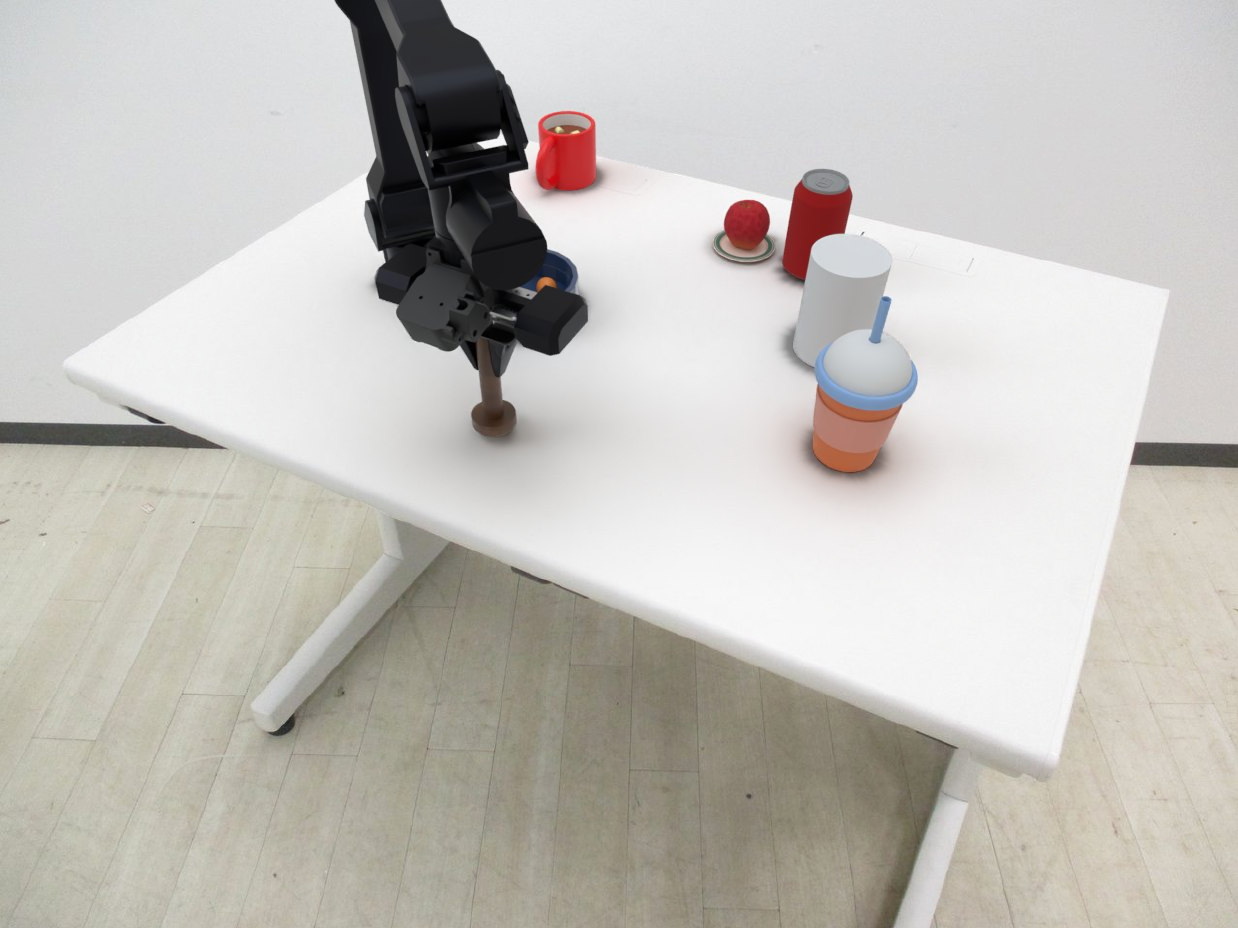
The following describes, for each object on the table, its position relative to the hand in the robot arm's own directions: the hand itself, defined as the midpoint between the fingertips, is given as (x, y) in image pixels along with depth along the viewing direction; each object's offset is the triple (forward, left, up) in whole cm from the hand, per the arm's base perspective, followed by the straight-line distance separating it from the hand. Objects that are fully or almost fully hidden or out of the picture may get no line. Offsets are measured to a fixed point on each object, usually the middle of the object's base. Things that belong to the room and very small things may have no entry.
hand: (489, 371), depth 80 cm
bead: (-6, +21, -6) cm, 23 cm away
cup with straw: (+32, +13, -8) cm, 35 cm away
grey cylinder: (+26, +28, -8) cm, 39 cm away
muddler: (0, 0, -6) cm, 6 cm away
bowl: (-8, +19, -8) cm, 22 cm away
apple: (+10, +43, -8) cm, 45 cm away
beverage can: (+19, +42, -8) cm, 47 cm away
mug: (-19, +47, -8) cm, 51 cm away
